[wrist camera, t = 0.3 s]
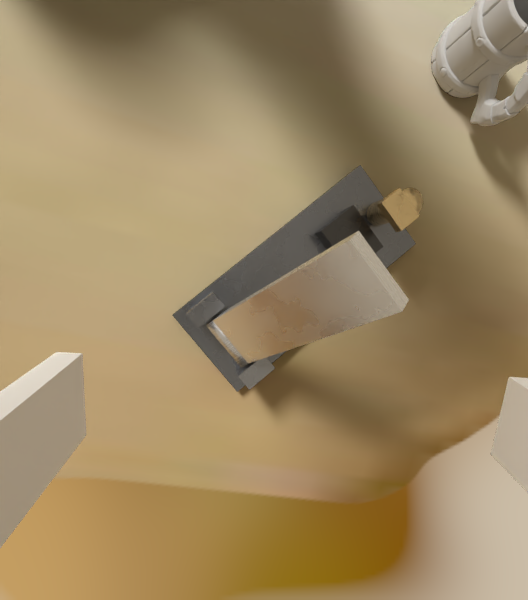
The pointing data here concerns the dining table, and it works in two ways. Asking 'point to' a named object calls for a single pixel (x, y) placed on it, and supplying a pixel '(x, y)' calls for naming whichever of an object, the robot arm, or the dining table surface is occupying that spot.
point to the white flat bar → (311, 303)
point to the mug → (484, 57)
